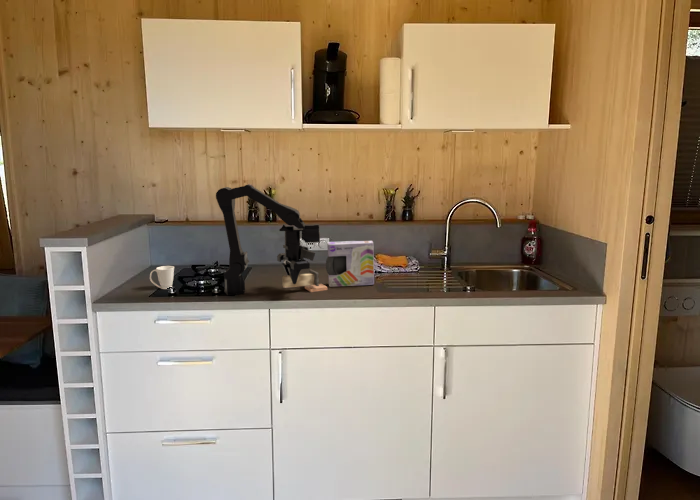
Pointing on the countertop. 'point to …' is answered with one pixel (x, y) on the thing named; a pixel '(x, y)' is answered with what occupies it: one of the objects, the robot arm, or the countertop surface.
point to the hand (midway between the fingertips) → (293, 283)
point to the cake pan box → (350, 263)
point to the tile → (316, 288)
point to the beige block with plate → (302, 280)
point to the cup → (164, 276)
